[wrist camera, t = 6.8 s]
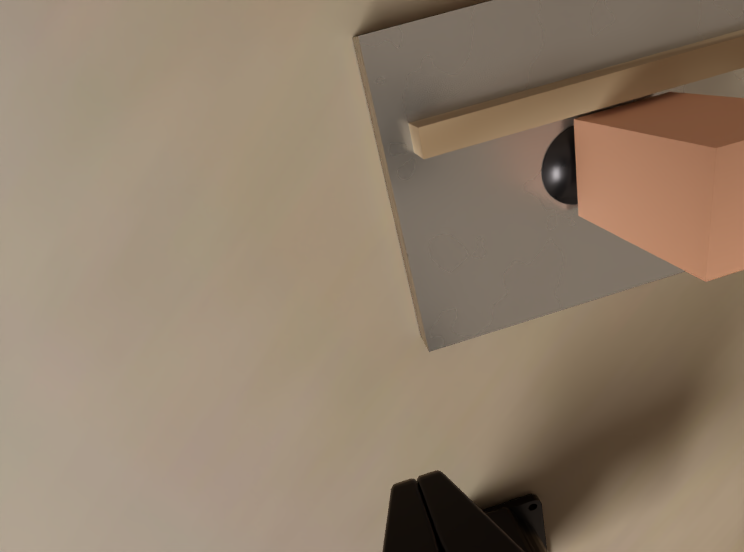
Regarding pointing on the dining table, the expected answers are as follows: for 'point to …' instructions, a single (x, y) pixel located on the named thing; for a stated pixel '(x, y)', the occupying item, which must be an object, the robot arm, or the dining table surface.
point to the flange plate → (513, 153)
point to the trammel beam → (577, 95)
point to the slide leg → (668, 178)
